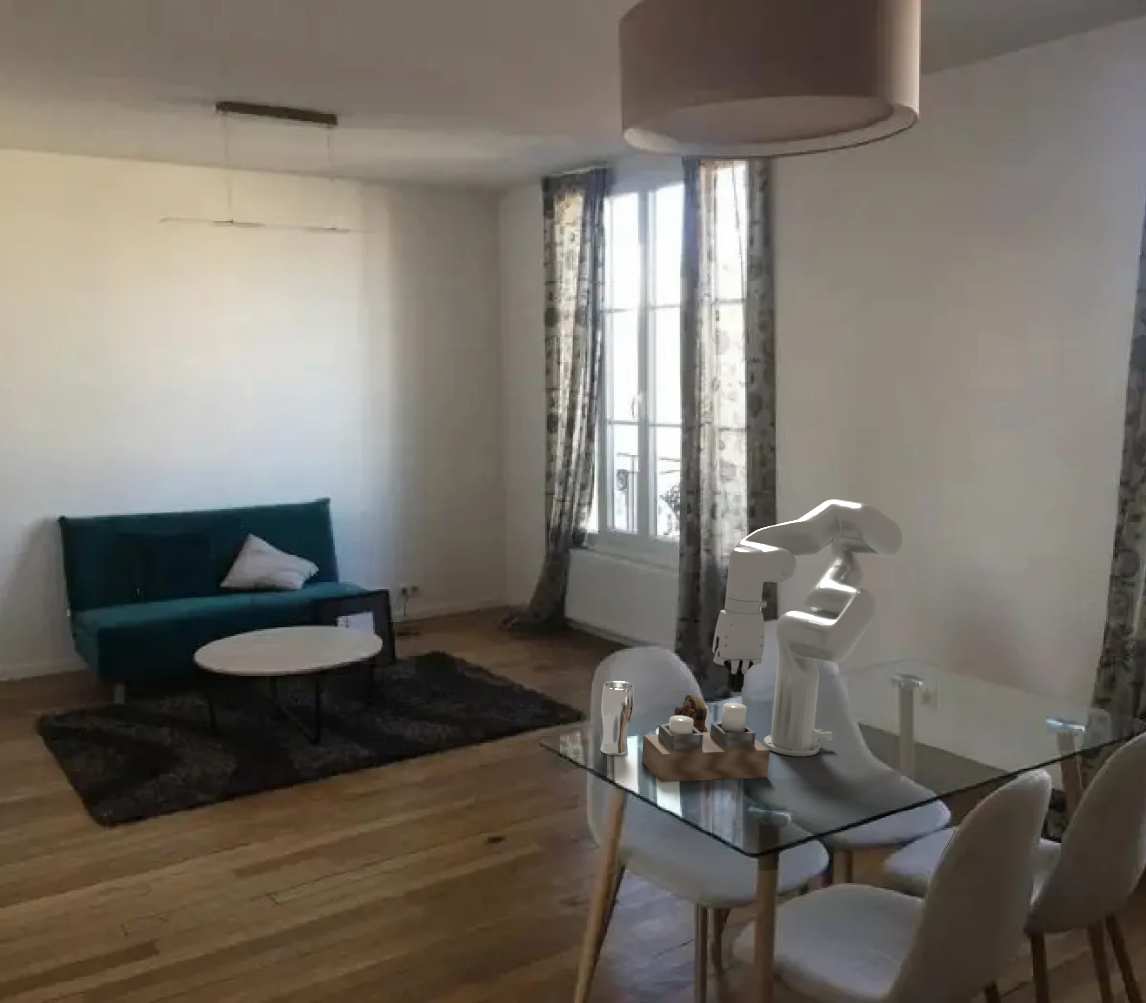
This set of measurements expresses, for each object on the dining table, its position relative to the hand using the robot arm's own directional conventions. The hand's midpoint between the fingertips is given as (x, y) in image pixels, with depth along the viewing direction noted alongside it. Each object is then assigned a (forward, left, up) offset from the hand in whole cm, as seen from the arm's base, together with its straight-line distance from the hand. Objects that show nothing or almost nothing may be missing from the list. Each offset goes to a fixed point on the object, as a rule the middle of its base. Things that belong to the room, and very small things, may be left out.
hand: (734, 690), depth 252 cm
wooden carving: (+2, -19, -18) cm, 26 cm away
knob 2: (0, 0, -9) cm, 9 cm away
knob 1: (+12, 0, -11) cm, 16 cm away
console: (+6, 0, -17) cm, 18 cm away
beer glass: (+22, -13, -18) cm, 31 cm away
